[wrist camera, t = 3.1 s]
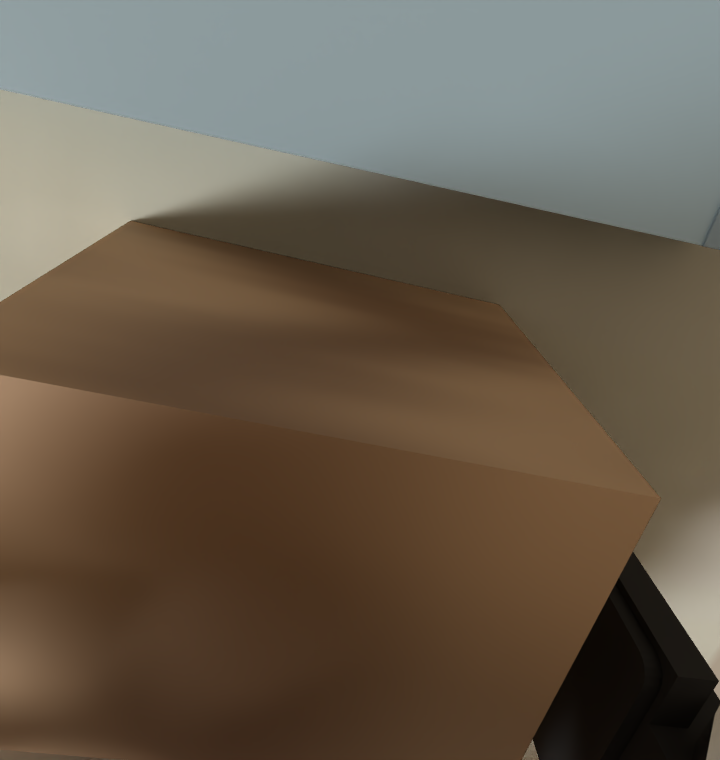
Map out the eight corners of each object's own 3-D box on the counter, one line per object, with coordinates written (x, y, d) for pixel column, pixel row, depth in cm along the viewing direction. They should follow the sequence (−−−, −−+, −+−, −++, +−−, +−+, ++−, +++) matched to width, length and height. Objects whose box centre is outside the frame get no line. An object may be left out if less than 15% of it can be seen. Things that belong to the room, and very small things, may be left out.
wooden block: (497, 302, 11) (661, 498, 6) (386, 623, 14) (422, 945, 9) (133, 219, 10) (-91, 356, 5) (99, 581, 13) (-56, 912, 8)
